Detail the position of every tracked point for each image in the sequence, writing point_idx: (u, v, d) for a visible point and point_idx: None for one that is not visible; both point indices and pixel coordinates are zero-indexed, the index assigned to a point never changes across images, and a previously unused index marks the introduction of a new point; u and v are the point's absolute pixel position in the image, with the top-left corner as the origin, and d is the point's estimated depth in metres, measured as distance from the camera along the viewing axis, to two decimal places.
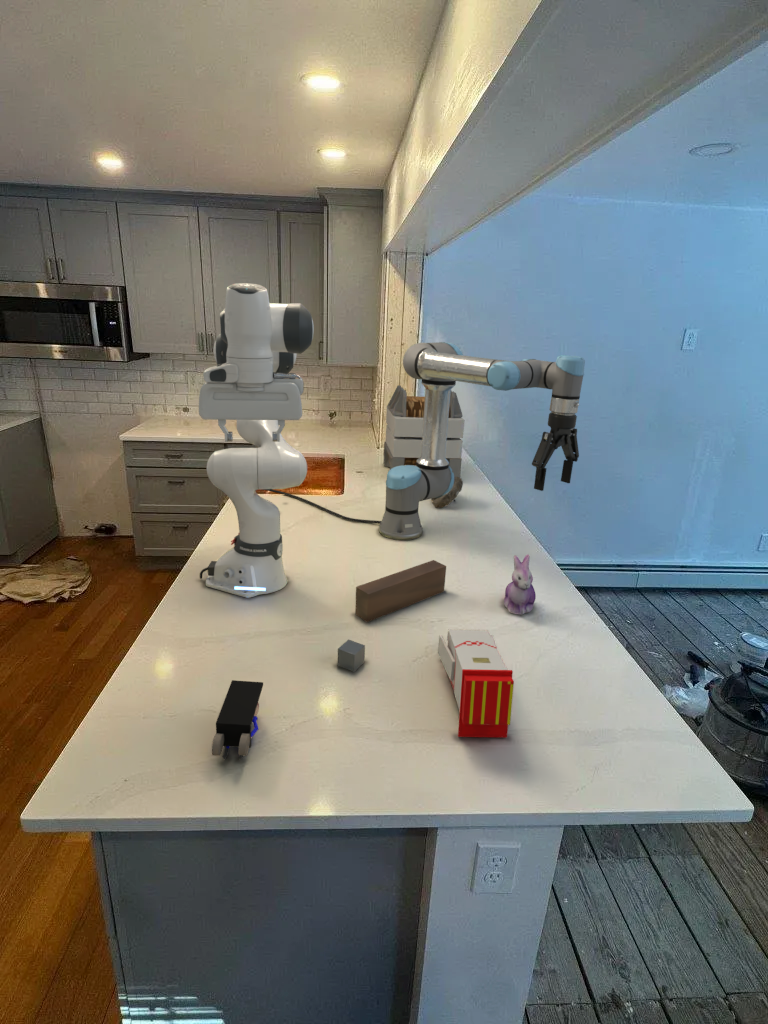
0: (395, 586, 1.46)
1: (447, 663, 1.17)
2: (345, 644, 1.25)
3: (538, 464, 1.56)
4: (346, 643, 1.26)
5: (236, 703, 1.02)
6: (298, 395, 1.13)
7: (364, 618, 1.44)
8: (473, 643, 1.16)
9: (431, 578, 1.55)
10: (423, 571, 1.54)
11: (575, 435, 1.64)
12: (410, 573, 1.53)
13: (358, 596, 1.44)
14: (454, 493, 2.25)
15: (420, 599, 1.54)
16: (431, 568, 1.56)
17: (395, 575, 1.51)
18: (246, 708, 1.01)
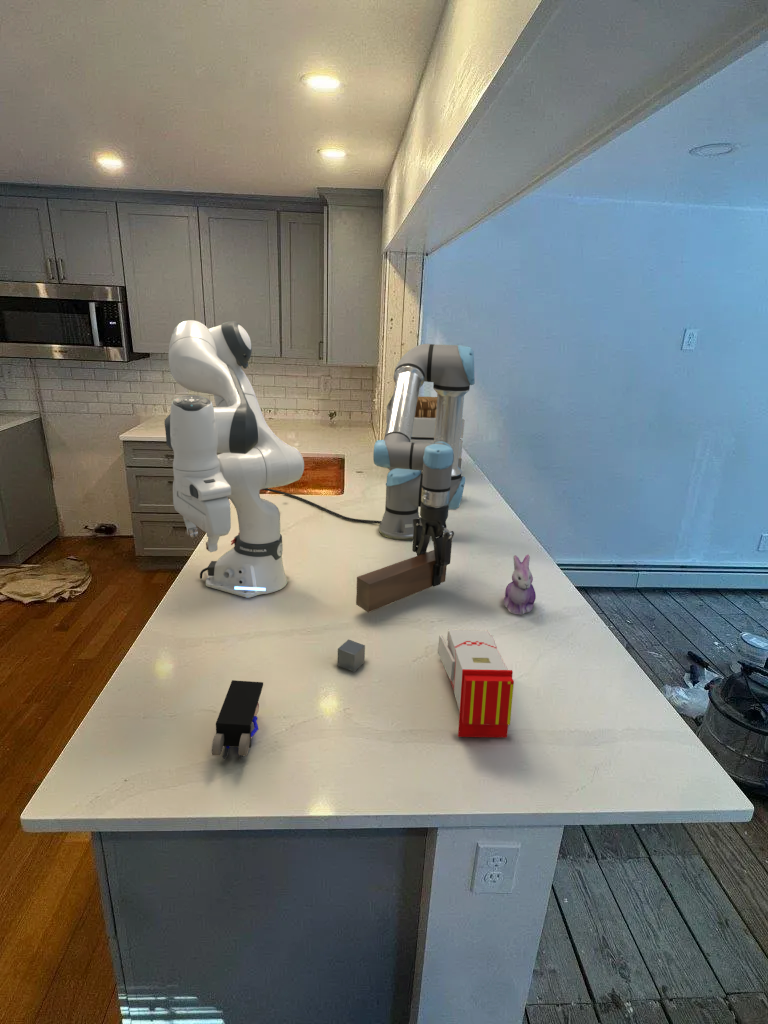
0: (396, 576, 1.45)
1: (447, 663, 1.17)
2: (345, 644, 1.25)
3: None
4: (346, 643, 1.26)
5: (236, 703, 1.02)
6: None
7: (365, 608, 1.43)
8: (473, 643, 1.16)
9: (432, 568, 1.54)
10: (424, 561, 1.53)
11: (444, 539, 1.49)
12: (411, 562, 1.52)
13: (359, 586, 1.43)
14: None
15: (421, 589, 1.54)
16: (432, 558, 1.55)
17: (396, 565, 1.50)
18: (246, 708, 1.01)
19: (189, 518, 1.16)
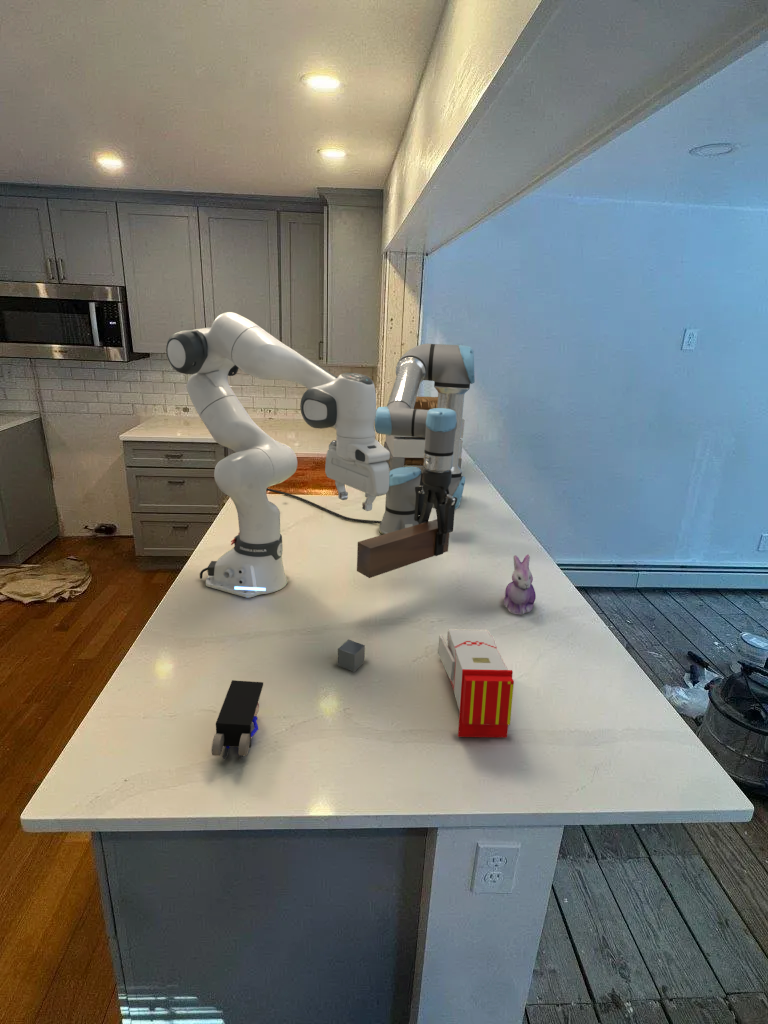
0: (397, 541, 1.42)
1: (447, 663, 1.17)
2: (345, 644, 1.25)
3: None
4: (346, 643, 1.26)
5: (236, 703, 1.02)
6: None
7: (366, 574, 1.40)
8: (473, 643, 1.16)
9: (435, 536, 1.51)
10: (426, 529, 1.49)
11: (447, 505, 1.46)
12: (413, 530, 1.48)
13: (360, 551, 1.40)
14: None
15: (423, 557, 1.50)
16: (434, 526, 1.51)
17: (398, 532, 1.47)
18: (246, 708, 1.01)
19: (346, 482, 1.31)
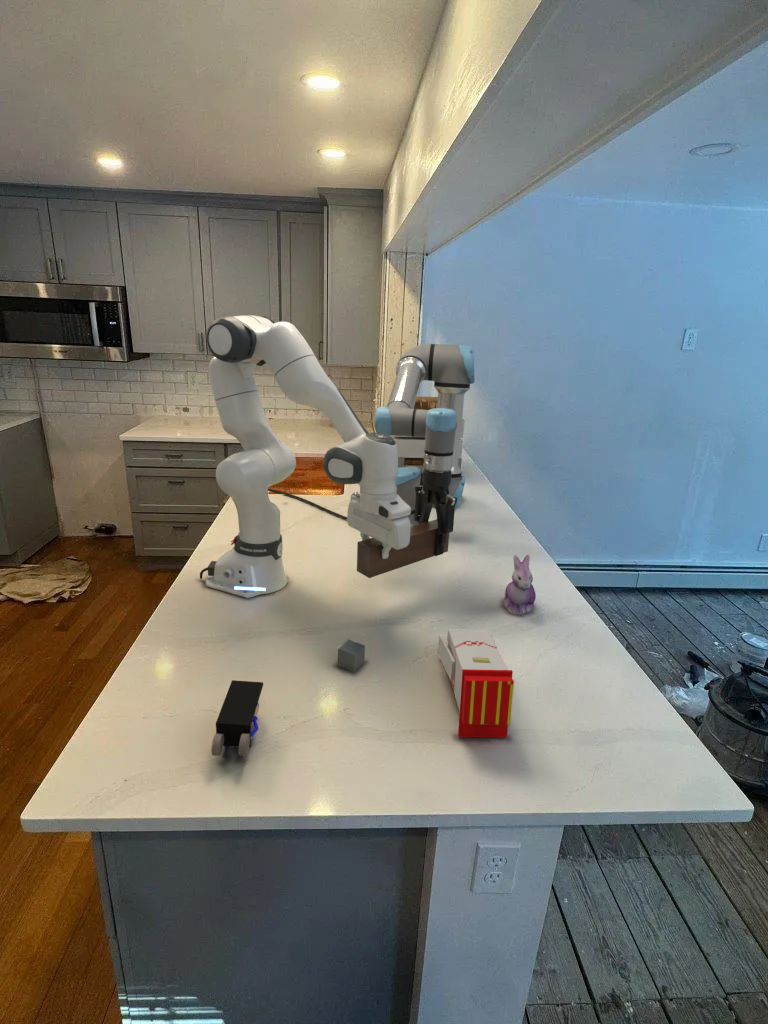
0: None
1: (447, 663, 1.17)
2: (345, 644, 1.25)
3: None
4: (346, 643, 1.26)
5: (236, 703, 1.02)
6: None
7: (366, 574, 1.40)
8: (473, 643, 1.16)
9: (435, 536, 1.51)
10: (426, 529, 1.49)
11: (447, 505, 1.46)
12: (413, 530, 1.48)
13: (360, 551, 1.40)
14: None
15: (423, 557, 1.50)
16: (434, 526, 1.51)
17: None
18: (246, 708, 1.01)
19: (367, 533, 1.39)
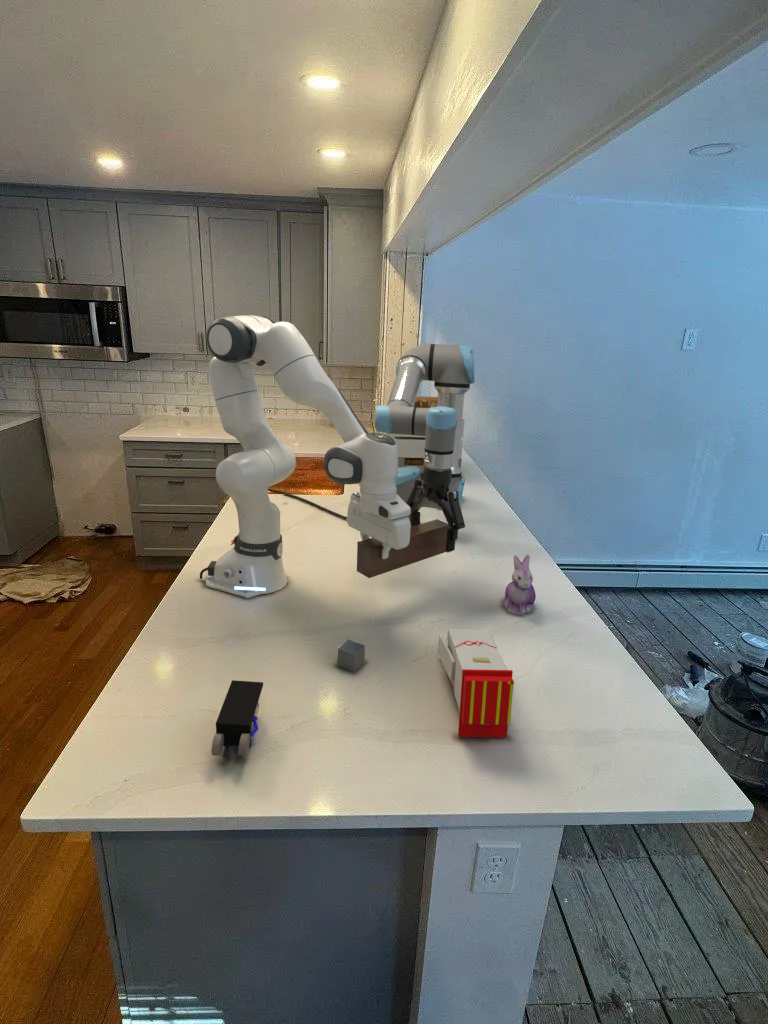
0: None
1: (447, 663, 1.17)
2: (345, 644, 1.25)
3: None
4: (346, 643, 1.26)
5: (236, 703, 1.02)
6: None
7: (365, 574, 1.40)
8: (473, 643, 1.16)
9: (435, 537, 1.51)
10: (426, 529, 1.49)
11: (450, 499, 1.44)
12: (413, 530, 1.48)
13: (359, 551, 1.40)
14: None
15: (423, 558, 1.50)
16: (434, 526, 1.51)
17: None
18: (246, 708, 1.01)
19: (367, 533, 1.39)
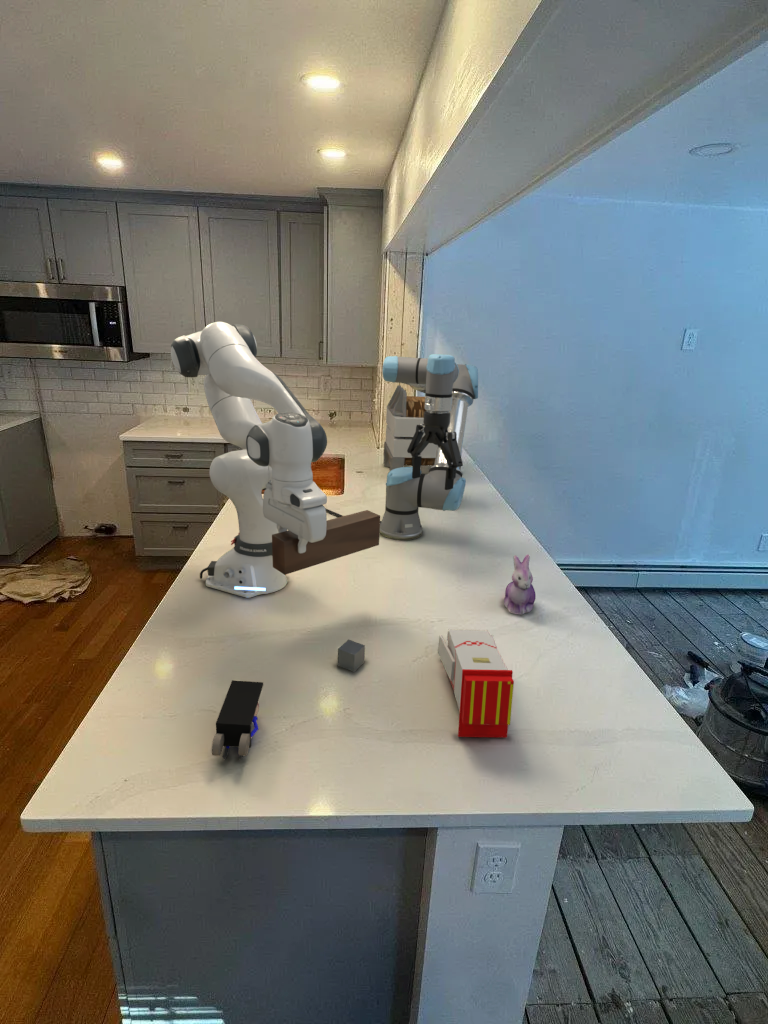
0: None
1: (447, 663, 1.17)
2: (345, 644, 1.25)
3: None
4: (346, 643, 1.26)
5: (236, 703, 1.02)
6: None
7: (281, 570, 1.26)
8: (473, 643, 1.16)
9: (363, 529, 1.38)
10: (353, 520, 1.36)
11: (448, 439, 1.57)
12: (338, 521, 1.35)
13: (274, 545, 1.26)
14: None
15: (350, 552, 1.37)
16: (362, 518, 1.38)
17: None
18: (246, 708, 1.01)
19: (282, 524, 1.26)
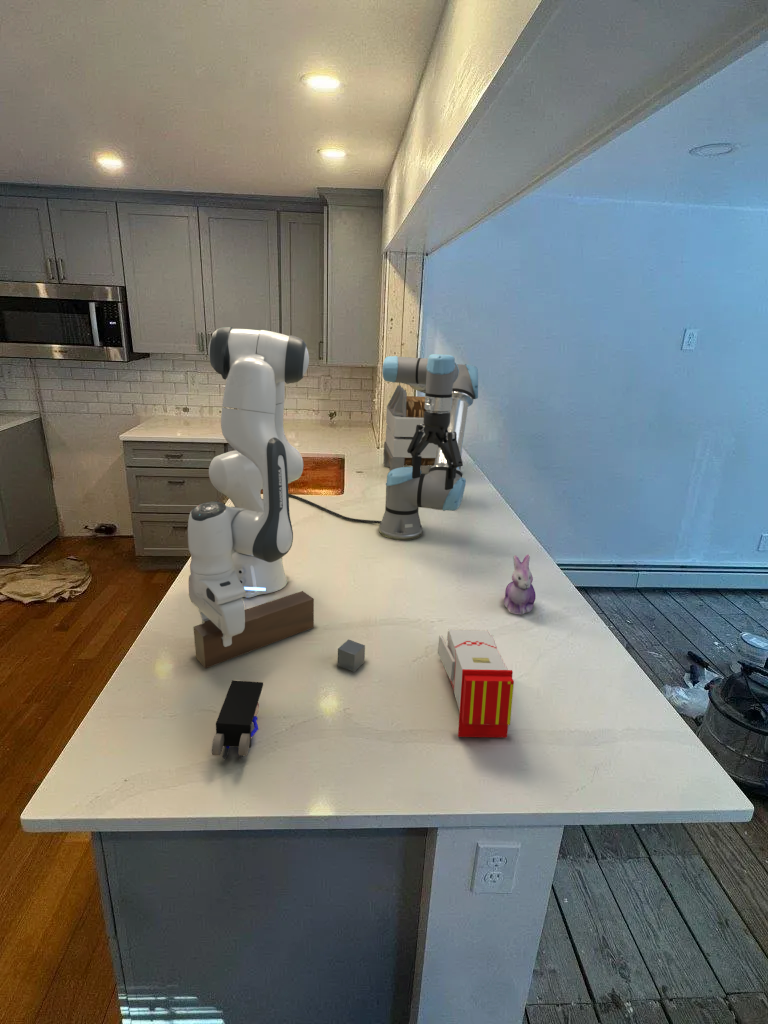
0: None
1: (447, 663, 1.17)
2: (345, 644, 1.25)
3: None
4: (346, 643, 1.26)
5: (236, 703, 1.02)
6: None
7: (202, 663, 1.23)
8: (473, 643, 1.16)
9: (294, 614, 1.34)
10: (283, 606, 1.33)
11: (448, 439, 1.57)
12: (267, 608, 1.32)
13: (196, 637, 1.23)
14: None
15: (280, 638, 1.34)
16: (294, 602, 1.35)
17: (247, 611, 1.30)
18: (246, 708, 1.01)
19: (205, 613, 1.22)
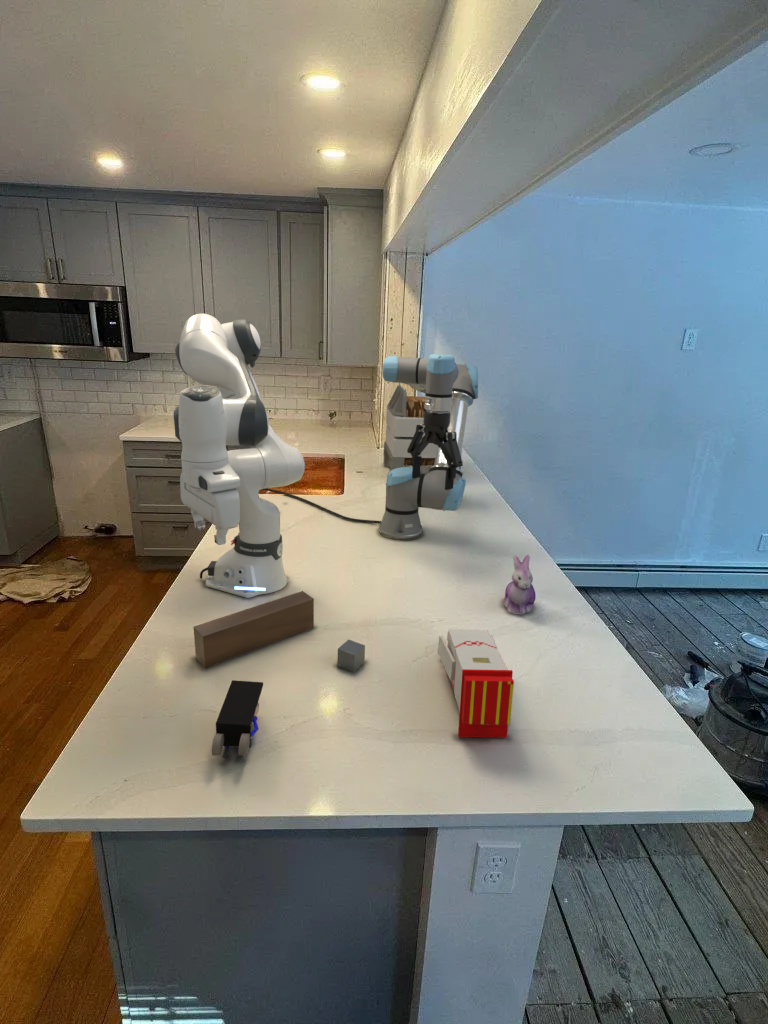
0: (241, 625, 1.25)
1: (447, 663, 1.17)
2: (345, 644, 1.25)
3: None
4: (346, 643, 1.26)
5: (236, 703, 1.02)
6: None
7: (202, 663, 1.23)
8: (473, 643, 1.16)
9: (294, 614, 1.34)
10: (283, 606, 1.33)
11: (448, 439, 1.57)
12: (267, 607, 1.32)
13: (196, 637, 1.23)
14: None
15: (280, 638, 1.34)
16: (294, 602, 1.35)
17: (247, 611, 1.30)
18: (246, 708, 1.01)
19: (197, 511, 1.14)
